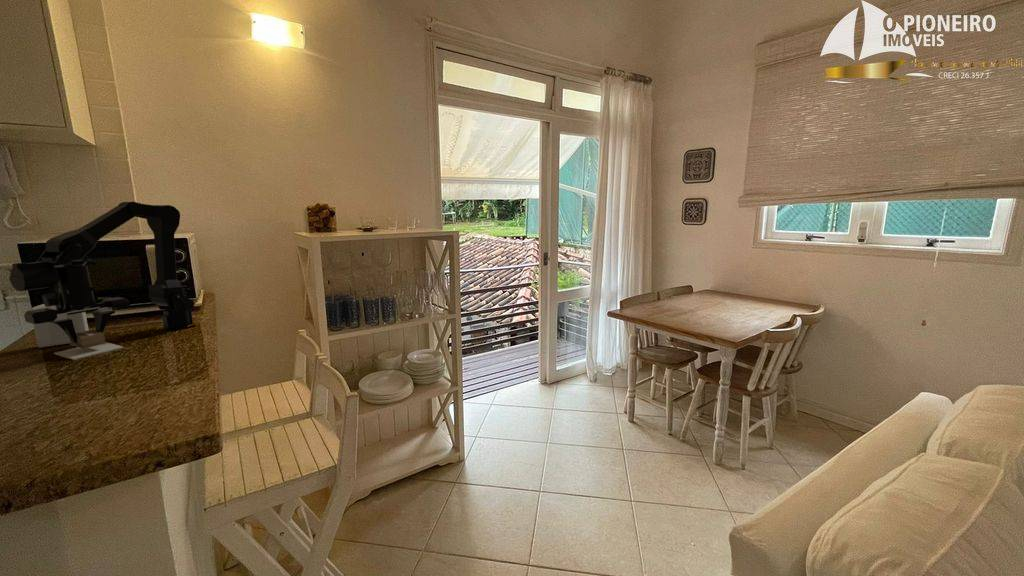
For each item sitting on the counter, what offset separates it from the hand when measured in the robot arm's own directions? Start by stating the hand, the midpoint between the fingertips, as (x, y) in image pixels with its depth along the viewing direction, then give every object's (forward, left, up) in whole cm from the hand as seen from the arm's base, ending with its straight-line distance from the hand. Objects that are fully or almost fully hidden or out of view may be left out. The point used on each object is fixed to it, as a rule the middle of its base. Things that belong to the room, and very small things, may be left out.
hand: (87, 339), depth 108 cm
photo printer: (0, -15, -3) cm, 16 cm away
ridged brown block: (0, 0, -1) cm, 1 cm away
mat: (0, 0, -3) cm, 3 cm away
